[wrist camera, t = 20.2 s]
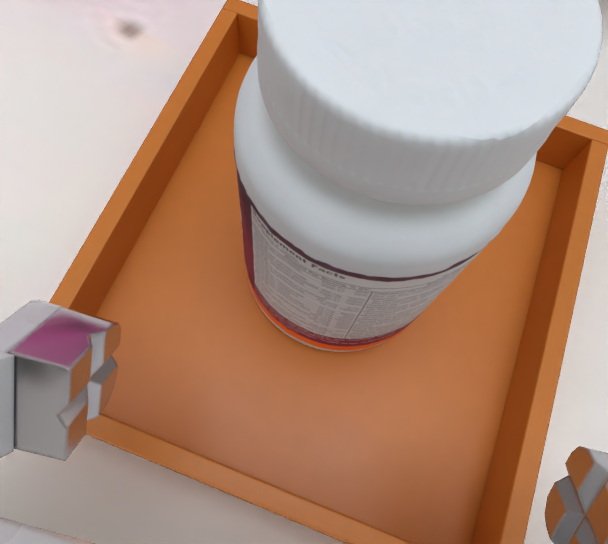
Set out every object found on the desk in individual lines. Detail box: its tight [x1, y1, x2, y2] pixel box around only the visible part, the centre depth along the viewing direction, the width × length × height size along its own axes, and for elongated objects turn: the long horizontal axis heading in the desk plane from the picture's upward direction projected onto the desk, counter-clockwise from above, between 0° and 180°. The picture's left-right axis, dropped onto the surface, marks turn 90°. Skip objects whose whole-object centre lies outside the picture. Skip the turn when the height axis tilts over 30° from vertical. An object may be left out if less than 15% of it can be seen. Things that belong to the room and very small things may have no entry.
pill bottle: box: [234, 0, 602, 352], centre depth 13 cm, size 6×6×11 cm
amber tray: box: [49, 0, 608, 544], centre depth 18 cm, size 15×14×3 cm
